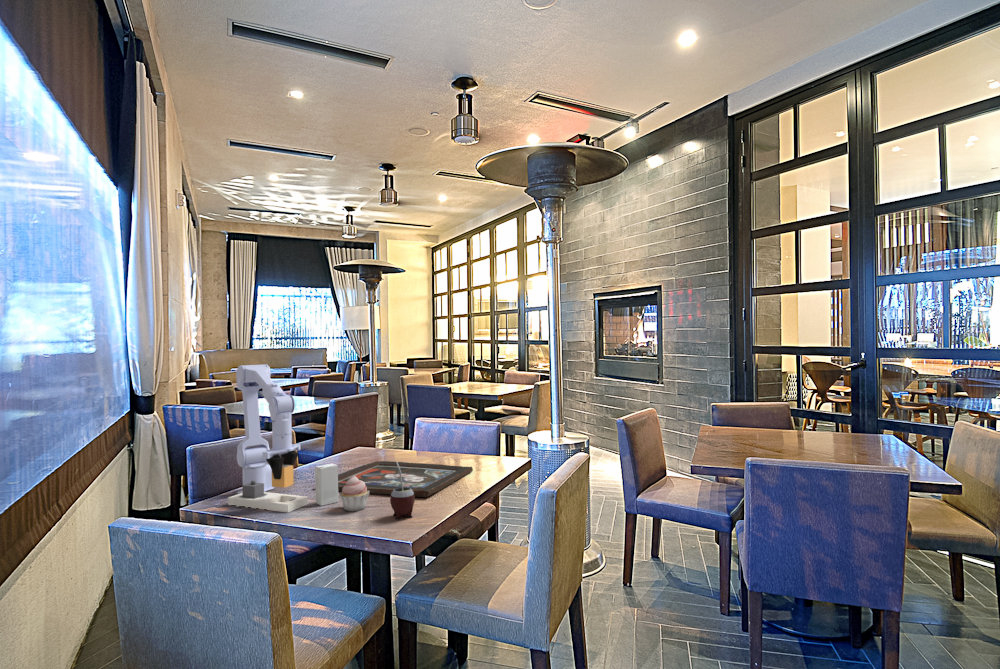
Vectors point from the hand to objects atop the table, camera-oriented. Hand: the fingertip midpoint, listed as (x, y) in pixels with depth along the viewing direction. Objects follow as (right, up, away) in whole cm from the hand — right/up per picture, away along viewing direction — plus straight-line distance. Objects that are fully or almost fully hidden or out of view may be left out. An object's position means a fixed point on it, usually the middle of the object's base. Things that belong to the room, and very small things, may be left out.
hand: (282, 477), depth 180 cm
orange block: (0, -3, 0) cm, 3 cm away
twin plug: (-11, -9, +4) cm, 15 cm away
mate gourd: (+40, -9, -12) cm, 42 cm away
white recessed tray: (-5, -9, +2) cm, 11 cm away
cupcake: (+24, -9, -3) cm, 25 cm away
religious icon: (+32, -10, +31) cm, 45 cm away
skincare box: (+13, -9, +3) cm, 16 cm away
